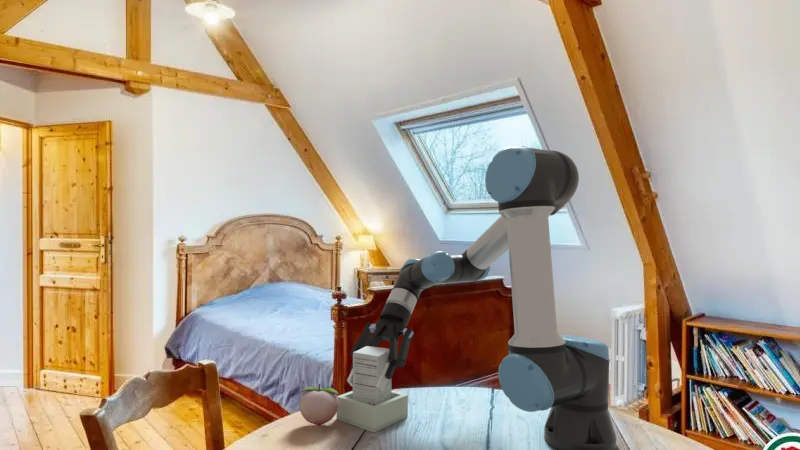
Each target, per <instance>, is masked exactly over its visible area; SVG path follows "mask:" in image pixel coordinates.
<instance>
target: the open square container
mask: <svg viewBox="0 0 800 450" xmlns="http://www.w3.org/2000/svg"><path fill="white" fill-rule="evenodd" d="M337 398H338V410H337V412H336V420H338V421H341V422H344V423H346V424H350V425H352V426H356V427H358V428H360V429H362V430H366V431H369V432H371V433H376V432H379V431H380V430H383V429H385V428H387V427H389V426H391V425H394V424H395V423H397V422H400V421H403V420H404V419H406V418H409V417H408V416H409V410H408V409H409V407H408V406H409V404H408V403H409V394H406V393H403V392H399V391H395V390H393V389H391V399H390V400H388V401H385V402H383V403H380V404H378V405H375V406H372V405H369V404H366V403H363V402H360V401H356V400H353V390H351V391H347V392H345V393H343V394H339V395H337Z"/></svg>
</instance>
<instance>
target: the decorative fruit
mask: <svg viewBox="0 0 800 450" xmlns="http://www.w3.org/2000/svg"><path fill="white" fill-rule="evenodd" d="M303 392H304V393H303ZM301 393H303V394H302V395H301V397H300V400H299V411H300V414H301V416H302V417H303V419H305V421H306V422H308V423H310V424H313V425H314V426H315V425H316V426H317V427H320V426H322V425H325V424H326V423H329V422H331V420H332V419H333V418H334V417H335V416H336V415H337V410H338V398H337V396H339V395H340V393H339V392H338V391H337V390H336V389H334V388H333V387H321V383H318V387H315V386H308V387H305V388H303V389H302V390H300V391H299V394H301Z"/></svg>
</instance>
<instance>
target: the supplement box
mask: <svg viewBox="0 0 800 450" xmlns="http://www.w3.org/2000/svg"><path fill="white" fill-rule="evenodd" d="M389 361H390V348H387V347H378V346H376V347H373V346H366V347H364V348H362V349H359V350H357V351H355V352H353V356H352V363H353V386H352V391H353V400H356V401H360V402H363V403H366V404H369V405H372V406H375V405H378V404H380V403H383V402H385V401H388V400H390V399H391V390H392V378H391V379H388V381H387V383H386V386H385V388H384V391H383V393H381V392H379V390H378V389H377V388H376V385H377V382H378V380H379V378H380V375H381V373H382V371H383V368H384V366H385V363H389V364H390V362H389Z"/></svg>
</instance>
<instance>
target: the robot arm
mask: <svg viewBox="0 0 800 450" xmlns="http://www.w3.org/2000/svg"><path fill="white" fill-rule="evenodd" d="M579 177H580V176H579V170H578V168H577V166H576V162H574V161H573V159H572V158H571V157H569V156H568V155H566V154H565V153H564V152H560V151H558V150H548V149H541V148H535V147H528V146H524V145H523V146H508V147H505V148H503V149H501V150H499V151H498V152H497V153H496V154H495V155H494V156H493V157H492V159H491V161H490V162H489V164H488V165H487V167H486V172H485V178H484V181H485V182H484V183H485V184H484V185H485V188H486V189H485V190H486V192H487V194H488V195H490V198H491V199H492V200H494V202H496V203H497V205H498V214H499V215H500V216H499V217H498V218H497V219H496V220H495V221H494V222H493V223H492V224H491V225H490V226H489V227H488V228H487V229H486V230H485V231H484V232H483V233H482V234H481V235H480V236H479V237H478V238H477V239H475V241H474V242H473V243H471V245H470V246H469V247H467V248H466V250H464V252H462V253H461V254H449V253H447V252H445V251H443V250H442V251H441V250H439V251H434V252H431V253H430V254H428V255H426V256H425V257H423V258H422V259H418V258H409V259H407V260H406V261H405V262H404V263H403V266H402V267H401V268H400V271H399V274H398V276H397V279H396V281H395V283H394V284H393V286H392V288H391V289H392V290H391V291H390V294H388V295H389V296H388V298H387V299H386V301H385V305H384V306H383V309H382V311H381V313H380V317H379V320H378V321H377V322H376V323H371V322H369V321H367V322H366V323H365V326H364V329H363V331H362V333H361V334H360V336H359V337H358V339H357V340H356V342H355V343H354V345H353V346H352V348H351V350H350V352H349V353H350V355H351V356H352V357H353V352H355V351H357V350H359V349H362V348H364V347H366V346H373V347H378V345H379V344H381V343H382V342H383V341H387V342H389V349H390V361H389V362H390V364H389V363H385V366H384V368H383V371H382V373H381V375H380V378H379V380H378V382H377V385H376V388H377V389H378V390H379V392H381V393H383V391H384V388H385V386H386V383H387V381H388V379H391V380H392V379H393V376H394V373H395V370H396V369H397V368H398V367H399V368H404V367H405V366H406V363H407V357H408V353H409V349H410V346H411V341H412V340H413V338H414V336H415V333H414V331H413V330H412V328H411V327H407V326H408V324H409V322H410V319H411V316H412V314H413V311H414V310H415V307H416V305H417V302H418V300H419V298H420V295H421V293H422V292H423V291H425V290H426V289H429V288H430V287H433V286H435V285H440V284H450V283H451V284H452V283H453V284H454V283H462V282H463V283H464V282H466V283H468V282H473V283H474V282H477V281H482V280H484V279H486V278H487V277H488V276H489V272H490V270H491V265H493V263H494V262H496V261H497V260H498V259H500V258H501V256H503V255H504V254H505V253H507V251H508V257H509V270H510V272H509V273H510V274H509V275H510V285H511V287H510V288H511V300H512V312H513V314H512V315H513V326H514V334H513V335H512V337H511V338H509V340H508V341H507V342H508V343H507V344H508V345H507V346H508V354H507V355H506V356H505V357H503V358H502V360H501V363H500V364H499V366H498V371H497V372H498V381H499V384H500V387H501V390H502V391H503V393H504V395H505V397H506V398H508V399H509V401H510V403H511V404H512V405H513V406H515V407H516V408H518V409H519V410H522V411H524V412H528V413H534V412H538V411H539V412H540V411H541V412H542V411H547V410H549V409H550V410H549V413H548V416H547V419H546V421H545V424H544V428H543V430H544V431H543V433H544V434H543V435H544V436H543V437H544V438H543V439H544V441H545V442H546V443H547V444H548V445H549V446H551V447H552V448H554V449H556V450H616V449H617V434H616V431H615V428H614V424H613V421H612V418H611V415H610V412H609V388H610V387H609V384H610V382H609V379H610V377H609V376H610V362H611V359H610V355H609V354H610V351H609V347H608V345H607V344H606V343H605V342H603V341H601V340H598V339H595V338H590V337H585V336H579V335H571V334H570V335H569V334H559V333H558V326H557V324H558V323H557V311H556V301H555V287H554V286H555V285H554V274H553V262H552V261H553V260H552V247H551V236H550V224H549V223H550V222H549V217H551V216H554V215H556V214H557V213H558V212H559V211H560V210H561V209H563V207H564V206H565V205H567V203H569V202H570V201H571V199H572V198H573V196H574V195H575V193H576V191H577V189H578V186H579V182H580V178H579ZM406 327H407V328H406ZM402 335H403V336H402ZM401 336H402V339H401V343H400V346H399V349H398V345H399V337H401ZM349 373H350V374H349V376H348V377H347V379H346V382H347V383H348V384H349V386H350V387H353V362H352V363H351V366H350V372H349Z"/></svg>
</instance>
